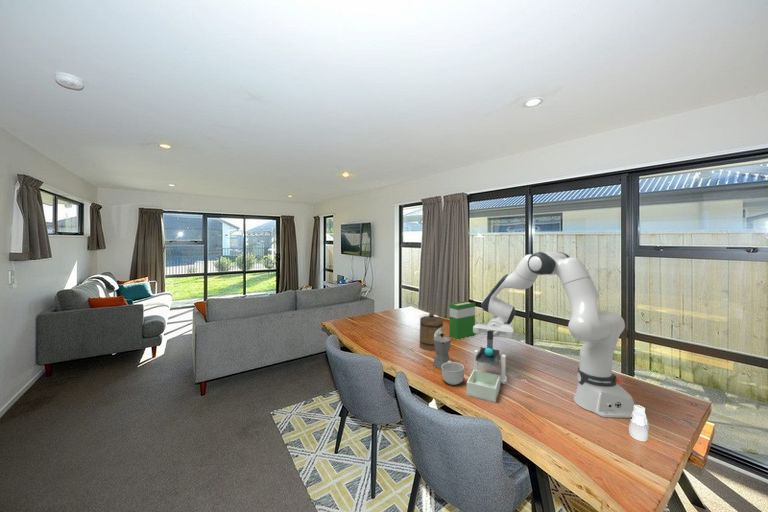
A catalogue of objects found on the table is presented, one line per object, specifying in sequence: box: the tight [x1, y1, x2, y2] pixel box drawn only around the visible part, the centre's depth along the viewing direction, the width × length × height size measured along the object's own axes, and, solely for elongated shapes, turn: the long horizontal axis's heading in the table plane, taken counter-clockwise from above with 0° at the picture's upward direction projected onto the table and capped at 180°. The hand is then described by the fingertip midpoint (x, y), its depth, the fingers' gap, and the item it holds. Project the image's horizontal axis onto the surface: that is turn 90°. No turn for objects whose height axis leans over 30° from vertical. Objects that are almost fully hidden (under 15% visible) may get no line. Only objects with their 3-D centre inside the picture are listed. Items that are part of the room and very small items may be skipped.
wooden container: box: [419, 312, 444, 351], centre depth 190 cm, size 15×15×22 cm
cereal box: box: [449, 300, 476, 340], centre depth 209 cm, size 18×7×24 cm, turn 122°
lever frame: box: [473, 349, 508, 385], centre depth 147 cm, size 16×6×13 cm, turn 61°
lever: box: [475, 331, 502, 366], centre depth 144 cm, size 10×18×16 cm, turn 151°
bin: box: [466, 369, 501, 403], centre depth 134 cm, size 12×14×6 cm
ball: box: [485, 347, 493, 356], centre depth 144 cm, size 4×4×4 cm
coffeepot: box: [433, 333, 452, 370], centre depth 162 cm, size 15×9×18 cm, turn 175°
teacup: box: [441, 360, 465, 386], centre depth 144 cm, size 14×11×8 cm
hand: (490, 335), depth 148 cm, fingers closed
